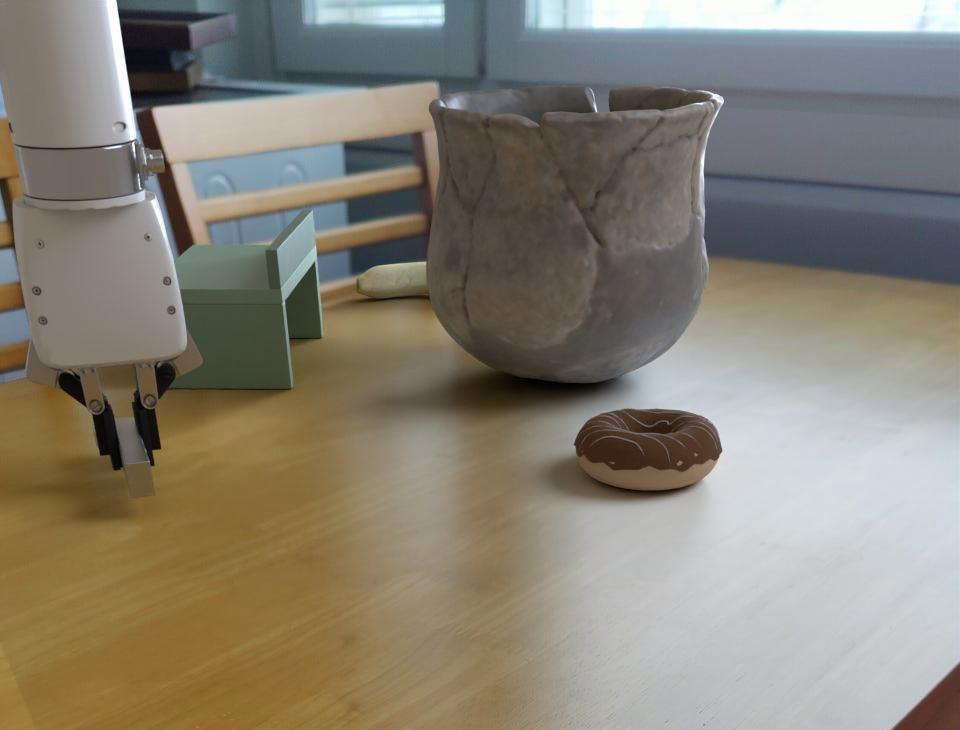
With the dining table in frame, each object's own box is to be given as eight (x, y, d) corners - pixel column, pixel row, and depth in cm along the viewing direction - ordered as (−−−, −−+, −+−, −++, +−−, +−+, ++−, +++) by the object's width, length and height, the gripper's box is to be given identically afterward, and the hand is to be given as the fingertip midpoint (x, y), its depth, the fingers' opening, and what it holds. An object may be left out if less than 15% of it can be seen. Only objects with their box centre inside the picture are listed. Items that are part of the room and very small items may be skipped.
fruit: (374, 288, 136) (372, 256, 134) (505, 293, 133) (505, 260, 131) (355, 304, 131) (352, 270, 129) (490, 310, 128) (490, 276, 126)
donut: (622, 510, 83) (626, 453, 81) (547, 463, 91) (548, 409, 88) (748, 483, 87) (755, 427, 85) (666, 440, 95) (670, 388, 92)
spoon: (176, 493, 83) (170, 458, 82) (110, 501, 82) (103, 466, 80) (152, 430, 93) (147, 398, 92) (93, 436, 92) (87, 404, 91)
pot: (596, 325, 122) (607, 74, 109) (757, 381, 106) (793, 96, 93) (380, 366, 112) (363, 94, 99) (523, 435, 96) (526, 122, 83)
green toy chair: (157, 388, 107) (133, 249, 100) (205, 334, 121) (187, 209, 114) (291, 389, 106) (276, 249, 100) (323, 334, 121) (313, 209, 114)
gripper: (197, 159, 81) (231, 434, 92) (-50, 171, 77) (17, 457, 88) (215, 177, 76) (249, 467, 87) (-51, 191, 72) (21, 493, 83)
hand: (132, 460), depth 88 cm, fingers closed on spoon, 1 cm apart
